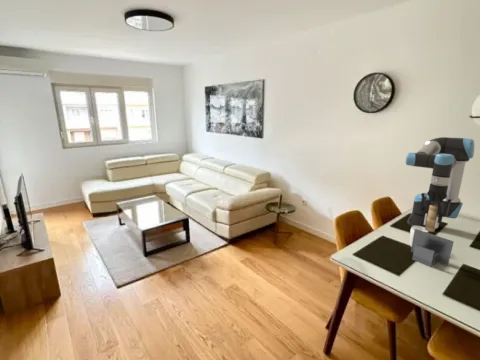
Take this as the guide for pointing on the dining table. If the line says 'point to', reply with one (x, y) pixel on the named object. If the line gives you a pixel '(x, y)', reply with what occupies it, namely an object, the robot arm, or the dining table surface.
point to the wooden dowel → (431, 218)
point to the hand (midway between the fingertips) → (430, 225)
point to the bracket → (430, 248)
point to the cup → (414, 230)
